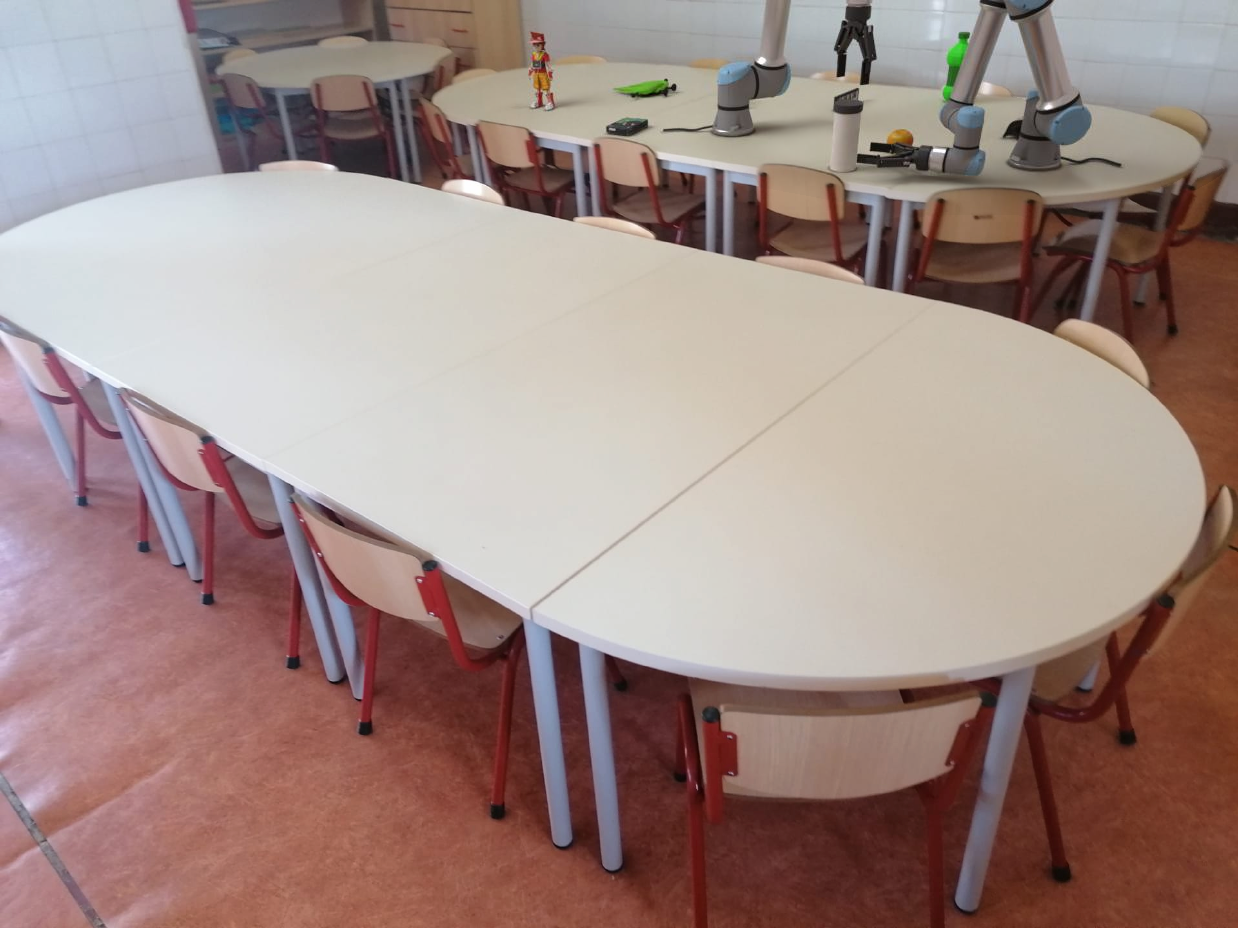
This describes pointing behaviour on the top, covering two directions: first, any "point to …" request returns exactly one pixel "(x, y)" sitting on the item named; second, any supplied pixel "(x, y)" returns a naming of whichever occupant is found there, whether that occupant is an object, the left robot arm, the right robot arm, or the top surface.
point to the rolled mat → (1014, 128)
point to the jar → (845, 142)
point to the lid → (848, 106)
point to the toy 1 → (541, 71)
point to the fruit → (900, 137)
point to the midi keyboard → (848, 95)
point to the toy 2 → (648, 88)
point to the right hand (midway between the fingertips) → (863, 152)
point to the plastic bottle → (955, 62)
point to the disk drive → (627, 126)
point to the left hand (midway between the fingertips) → (852, 81)
